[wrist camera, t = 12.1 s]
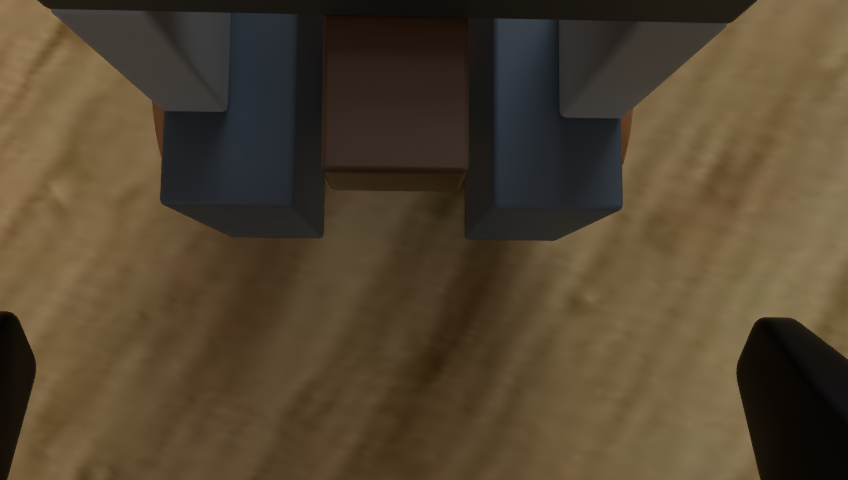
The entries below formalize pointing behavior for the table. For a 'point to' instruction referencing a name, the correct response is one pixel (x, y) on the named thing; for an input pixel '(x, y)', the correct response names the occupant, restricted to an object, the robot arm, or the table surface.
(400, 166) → the headphone stand
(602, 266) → the table surface
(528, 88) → the dark blocky forked piece
